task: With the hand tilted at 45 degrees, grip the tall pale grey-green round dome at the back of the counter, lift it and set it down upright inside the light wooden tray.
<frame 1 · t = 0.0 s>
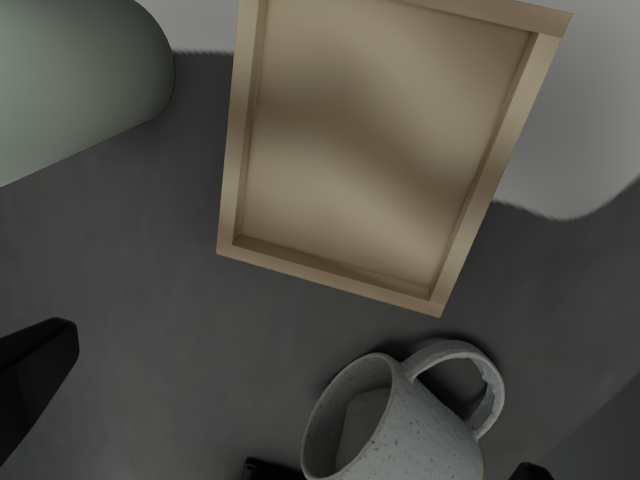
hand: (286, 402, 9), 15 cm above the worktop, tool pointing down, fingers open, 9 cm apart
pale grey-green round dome: (116, 61, 22), on the worktop
ceramic mug: (410, 383, 28), on the worktop
tray: (362, 146, 21), on the worktop
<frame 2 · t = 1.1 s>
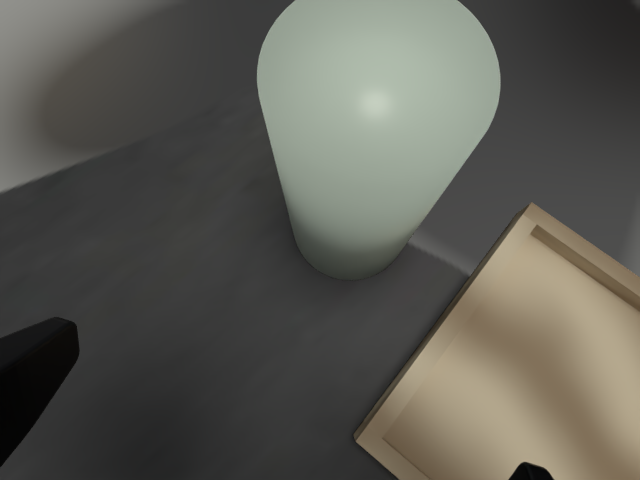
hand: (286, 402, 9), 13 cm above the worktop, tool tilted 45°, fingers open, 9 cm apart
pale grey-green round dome: (349, 224, 24), on the worktop
tray: (542, 397, 21), on the worktop
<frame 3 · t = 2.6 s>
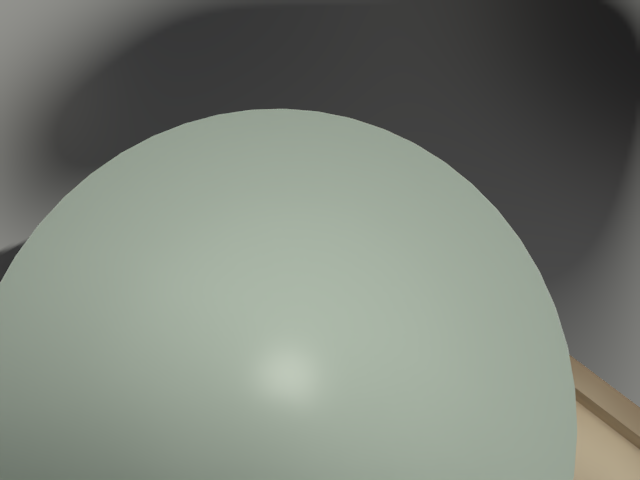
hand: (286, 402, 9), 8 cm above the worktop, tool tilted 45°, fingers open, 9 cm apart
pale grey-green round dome: (308, 367, 17), on the worktop
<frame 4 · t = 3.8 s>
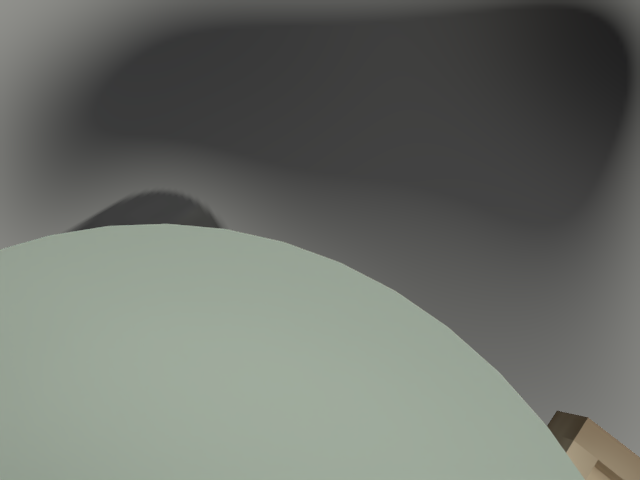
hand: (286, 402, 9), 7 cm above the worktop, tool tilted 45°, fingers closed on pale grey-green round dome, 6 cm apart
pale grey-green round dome: (290, 427, 15), on the worktop, touching gripper
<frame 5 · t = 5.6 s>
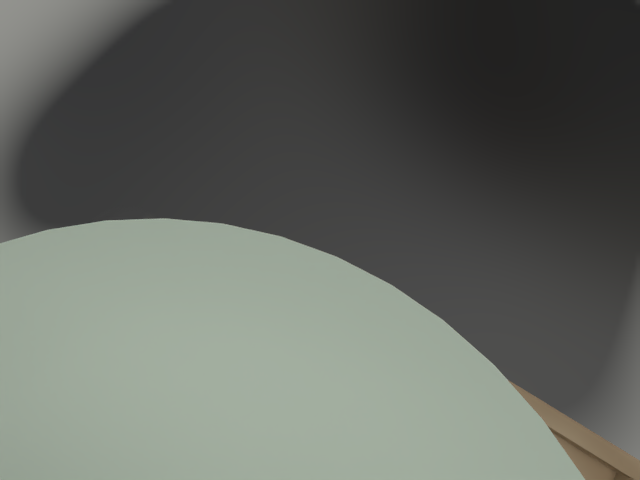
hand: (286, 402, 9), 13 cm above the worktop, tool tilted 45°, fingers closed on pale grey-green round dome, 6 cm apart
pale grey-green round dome: (289, 425, 15), point 7 cm above the worktop, touching gripper
when the fingers open (8 cm above the worktop, at t = 7.8 s): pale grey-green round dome drops 1 cm, resting on tray.
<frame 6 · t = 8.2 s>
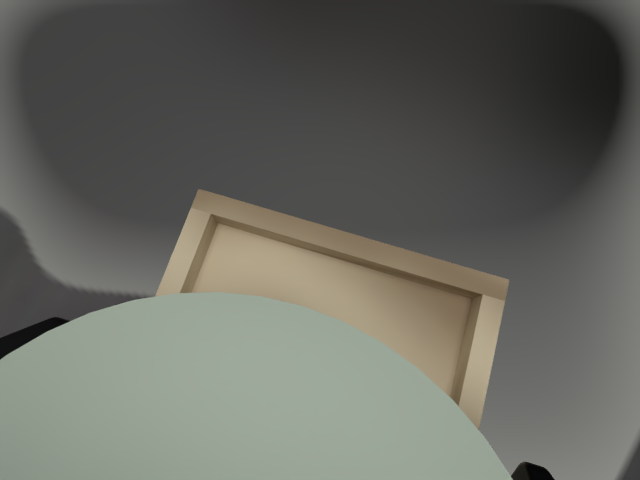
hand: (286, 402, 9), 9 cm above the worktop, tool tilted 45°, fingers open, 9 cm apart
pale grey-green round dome: (290, 422, 16), point 1 cm above the worktop, touching tray
tray: (294, 419, 17), on the worktop
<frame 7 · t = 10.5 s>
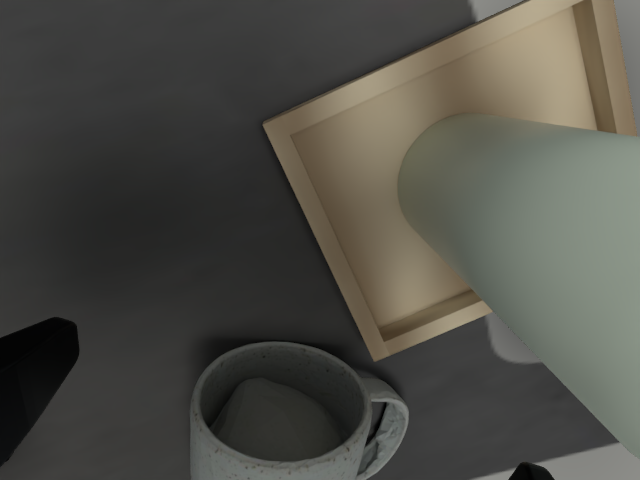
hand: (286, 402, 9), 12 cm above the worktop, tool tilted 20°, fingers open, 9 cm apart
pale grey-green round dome: (463, 182, 20), point 1 cm above the worktop, touching tray
ceramic mug: (301, 398, 24), on the worktop
tray: (459, 180, 21), on the worktop
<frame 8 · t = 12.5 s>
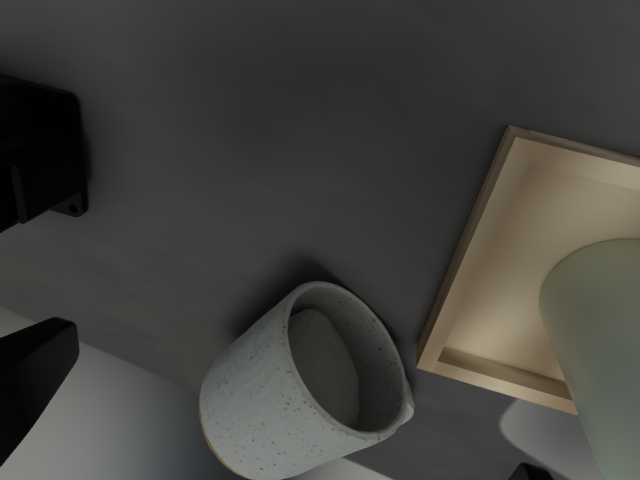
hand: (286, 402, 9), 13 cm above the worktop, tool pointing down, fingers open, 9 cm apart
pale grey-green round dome: (613, 298, 20), point 1 cm above the worktop, touching tray
ceramic mug: (334, 346, 25), on the worktop
tray: (608, 291, 20), on the worktop
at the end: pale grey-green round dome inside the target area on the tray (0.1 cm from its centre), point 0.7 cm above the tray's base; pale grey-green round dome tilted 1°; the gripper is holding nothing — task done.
